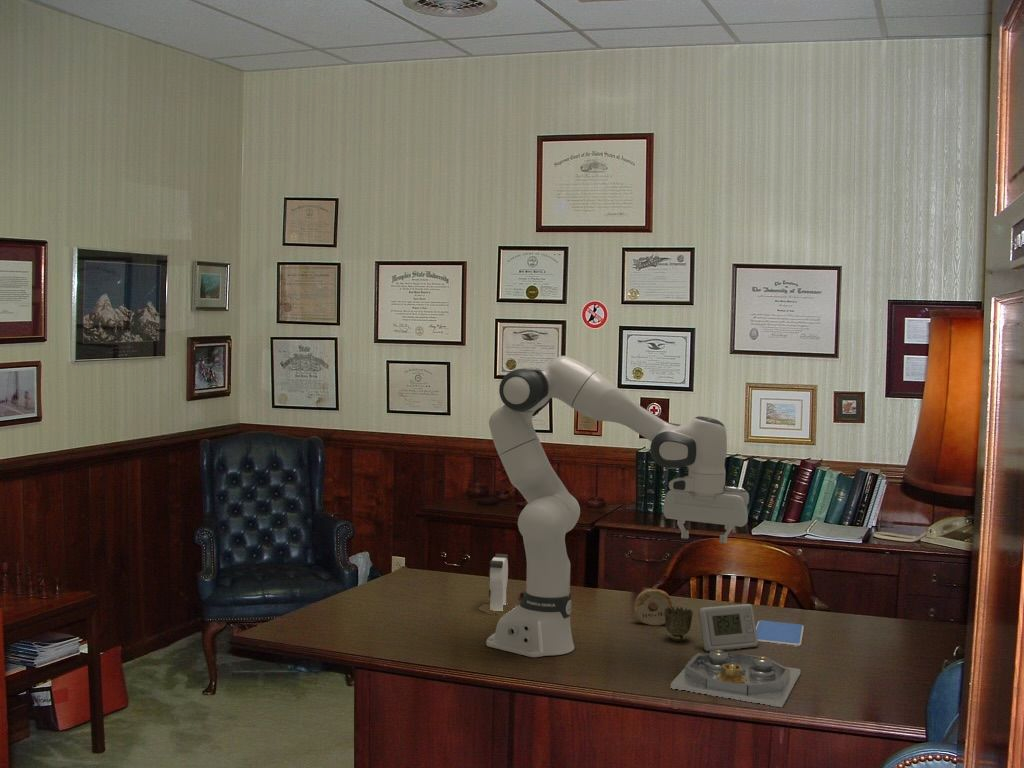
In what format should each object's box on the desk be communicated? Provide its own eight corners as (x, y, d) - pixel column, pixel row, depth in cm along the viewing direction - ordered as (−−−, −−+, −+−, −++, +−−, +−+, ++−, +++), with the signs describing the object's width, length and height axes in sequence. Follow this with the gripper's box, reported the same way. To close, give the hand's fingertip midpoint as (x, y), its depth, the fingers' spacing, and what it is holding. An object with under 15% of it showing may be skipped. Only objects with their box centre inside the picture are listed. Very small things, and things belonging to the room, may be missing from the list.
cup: (691, 645, 271) (692, 614, 271) (662, 642, 273) (663, 612, 272) (692, 637, 279) (693, 607, 278) (664, 634, 280) (665, 605, 280)
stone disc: (671, 623, 291) (673, 588, 290) (671, 627, 287) (672, 591, 287) (634, 621, 293) (635, 585, 292) (633, 624, 289) (634, 589, 288)
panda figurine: (482, 602, 308) (483, 551, 307) (520, 604, 307) (521, 554, 306) (475, 613, 296) (476, 560, 295) (514, 615, 295) (516, 563, 294)
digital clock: (703, 653, 265) (704, 612, 264) (691, 642, 274) (692, 602, 273) (763, 651, 268) (765, 610, 267) (750, 641, 277) (751, 601, 276)
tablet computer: (800, 648, 273) (801, 643, 273) (751, 643, 276) (751, 638, 276) (804, 629, 291) (804, 624, 291) (757, 624, 295) (757, 619, 295)
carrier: (670, 688, 238) (671, 664, 238) (697, 658, 261) (698, 635, 261) (782, 707, 228) (783, 682, 228) (800, 674, 251) (801, 650, 250)
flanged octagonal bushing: (714, 685, 237) (714, 668, 237) (720, 677, 243) (721, 660, 243) (742, 690, 235) (743, 673, 234) (748, 681, 241) (749, 664, 240)
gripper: (752, 486, 252) (749, 543, 253) (669, 478, 260) (667, 533, 261) (746, 490, 246) (744, 548, 247) (662, 481, 255) (660, 537, 255)
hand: (703, 540), depth 254 cm, fingers open, 8 cm apart
